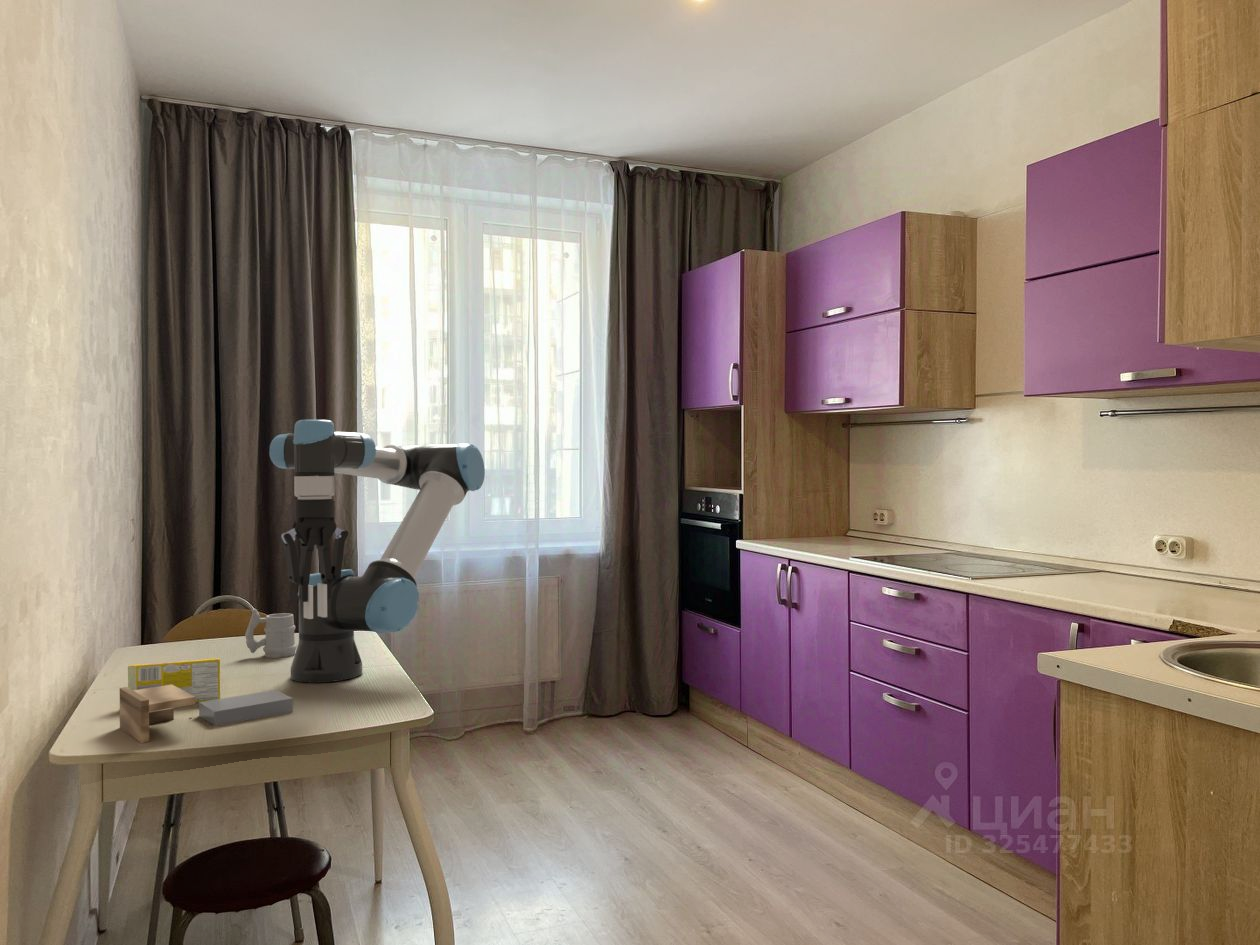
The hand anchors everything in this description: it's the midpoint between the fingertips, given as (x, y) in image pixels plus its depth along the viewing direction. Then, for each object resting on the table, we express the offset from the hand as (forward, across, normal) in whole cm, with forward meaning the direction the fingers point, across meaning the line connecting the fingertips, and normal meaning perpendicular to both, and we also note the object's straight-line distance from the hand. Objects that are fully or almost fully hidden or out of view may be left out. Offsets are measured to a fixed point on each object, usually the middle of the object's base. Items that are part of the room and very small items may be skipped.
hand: (315, 617), depth 178 cm
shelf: (+16, +28, 0) cm, 33 cm away
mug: (+17, -12, -51) cm, 55 cm away
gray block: (+17, +14, 0) cm, 22 cm away
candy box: (+17, +20, -18) cm, 32 cm away
